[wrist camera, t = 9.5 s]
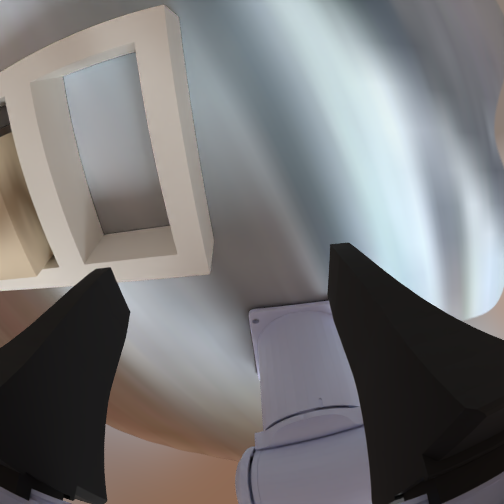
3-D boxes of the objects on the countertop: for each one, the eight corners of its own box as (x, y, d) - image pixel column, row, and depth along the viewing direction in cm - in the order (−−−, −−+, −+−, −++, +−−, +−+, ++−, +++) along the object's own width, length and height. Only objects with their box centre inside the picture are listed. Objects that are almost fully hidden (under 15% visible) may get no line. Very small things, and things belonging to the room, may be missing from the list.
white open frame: (214, 241, 20) (210, 274, 17) (20, 264, 20) (0, 290, 17) (179, 17, 12) (163, 4, 9) (-32, 107, 13) (-63, 119, 10)
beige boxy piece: (69, 234, 19) (36, 276, 15) (31, 241, 19) (-1, 280, 15) (33, 115, 14) (-16, 135, 10) (-4, 133, 15) (-51, 156, 10)
